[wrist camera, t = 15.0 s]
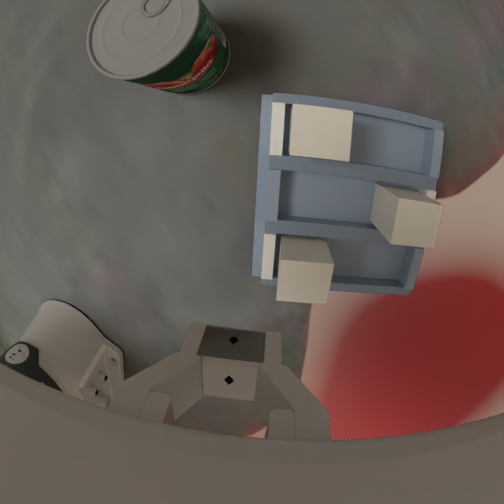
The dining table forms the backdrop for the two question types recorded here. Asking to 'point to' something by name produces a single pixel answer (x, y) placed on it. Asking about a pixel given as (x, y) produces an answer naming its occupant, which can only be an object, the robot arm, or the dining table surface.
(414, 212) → the middle tab
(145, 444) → the robot arm
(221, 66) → the canned tomato
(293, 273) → the far tab
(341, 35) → the dining table surface
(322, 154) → the near tab
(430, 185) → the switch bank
